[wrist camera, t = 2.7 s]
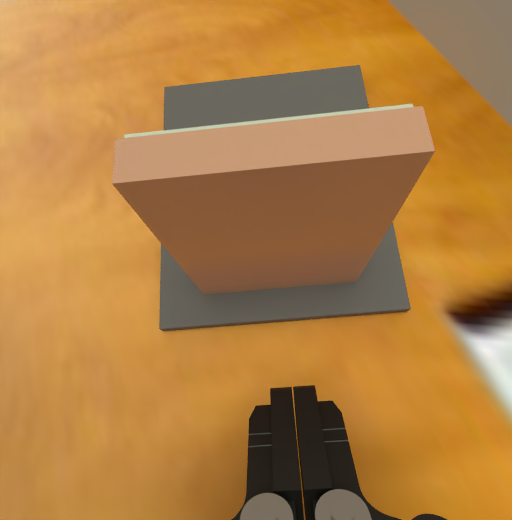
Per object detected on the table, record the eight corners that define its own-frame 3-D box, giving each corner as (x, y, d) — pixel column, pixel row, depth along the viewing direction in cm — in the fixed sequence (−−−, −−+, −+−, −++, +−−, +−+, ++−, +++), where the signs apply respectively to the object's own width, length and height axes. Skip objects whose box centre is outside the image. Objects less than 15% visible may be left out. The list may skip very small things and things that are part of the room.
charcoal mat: (406, 311, 25) (410, 308, 24) (163, 331, 25) (159, 328, 25) (358, 73, 31) (359, 65, 31) (167, 94, 32) (164, 87, 31)
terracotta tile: (356, 281, 25) (435, 151, 11) (203, 294, 25) (112, 183, 12) (351, 253, 25) (420, 98, 12) (203, 266, 26) (115, 131, 13)
